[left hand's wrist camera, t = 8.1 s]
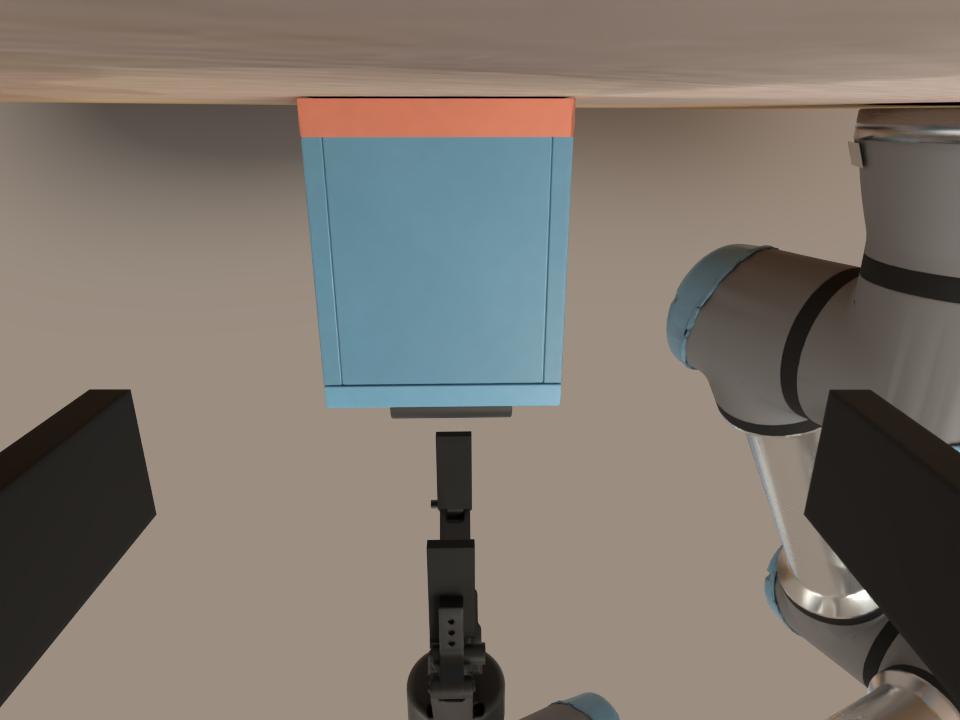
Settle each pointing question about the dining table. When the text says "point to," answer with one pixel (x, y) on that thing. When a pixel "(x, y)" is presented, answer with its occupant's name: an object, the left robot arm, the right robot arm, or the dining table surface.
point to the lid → (444, 398)
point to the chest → (439, 237)
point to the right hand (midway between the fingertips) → (452, 480)
